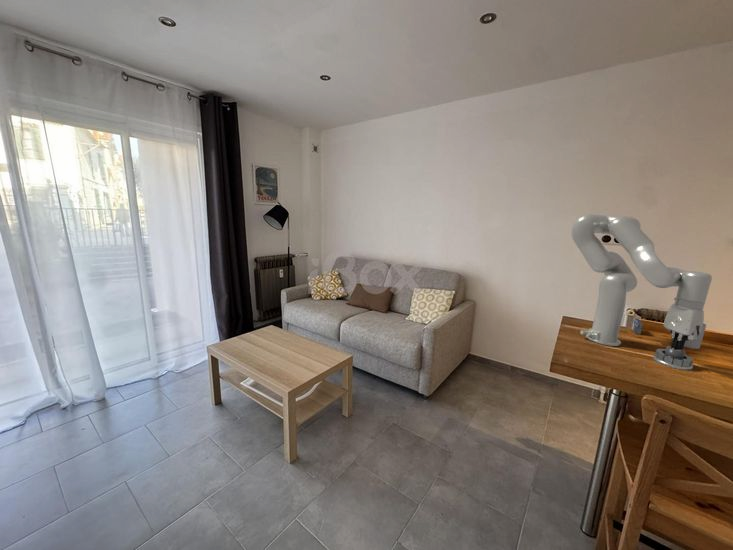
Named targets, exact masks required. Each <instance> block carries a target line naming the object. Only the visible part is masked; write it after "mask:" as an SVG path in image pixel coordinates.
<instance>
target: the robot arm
mask: <svg viewBox="0 0 733 550" xmlns="http://www.w3.org/2000/svg"><path fill="white" fill-rule="evenodd" d="M595 234H603V235H611V236H613V237H614V238H615V240H616V241H617V242H618V243H619V244H620V245H621V247H622V248H623V249H624V250H625V251H626V253H627V254H628V255H629V256H630V259H631V261H632V262H633V264H634V265H635V268H636V269H637V271H639V272H640V274H641V275H642V276H643V277H644V278H645V280H646V281H647V282H648V283H649V284H650V285H652V286H654V287H656V288H659V289H666V288H667V289H668V288H670V287H678V288H677V292H676V297H674V299H673V300H674V303H672V304H671V305H670V307H669V308H668V311H667V313H666V316H665V319H664V322H663V327H664V328H665V329H666V330H667V331H668V332H670V334H671V338H672V340H671V343H670V346H671V348H673V349H674V350H684V348H685V347H684V344H685V341H688V340H689V339H690V340H697V336H699V335H700V333H701V330H702V326H703V323H704V318H705V311H704V307H705V303H706V300H707V297H708V294H709V290H710V287H711V283H712V279H713V276H712V275H711V274H710V273H707V272H703V271H697V270H684V269H680V268H676V267H667V266H666V265H665V263H664V262H663V261H662V260H661V259H660V257H658V254H657V253H656V251H655V244H654V242H653V241H652V239H651V238H649V236H648V235H647V234H646V233H645V232H644V231H643V230H642V229H641V222H640V221H639V219H637V218H636V217H634V216H613V215H604V214H594V213H593V214H592V213H590V214H585V215H582V216H580V217H578V218H577V219H576V221H575V222H574V223H573V224H572V228H571V238H572V240H573V242H574V243H575V246H576V247H577V249H579V251H580V253H581V254H582V256H583V258H584V259H585V261H586V262H587V263H588V265H589V267H590V269H591V270H592V271H593V272H596V273H599V274H601V273H603V274H604V275H605V276H604V277H602V278H601V280H600V281H599V284H598V285H599V287H598V297H597V302H596V309H595V312H594V317H593V322H592V327H590V328H589V329H587V330H584V329H581V330H580V331H579V332H580V333H579V334H581V335H585V337H586V338H587V339H588V340H589V341H591V342H593V343H597V344H600V345H603V346H607V347H608V346H609V347H619V346H621V344H622V341H621V340H619V339H618V337H619V333H620V329H621V325H622V320H623V317H624V313H625V312H624V311H625V307H626V302H627V293H629V292H632V291H633V290H635V289H636V287H637V285H638V278H637V277H636V275H635V273H634V272H633V271H632V269H631V268H630V266H629V265H628V264H627V263H626V261H625V259H624V258H623V257H622V256H621V255H620V254H618V253H617V252H616V251H615V252H614V251H608V249H606V247H605V246H604V245H603V243H602V241H601V240H600V239H599V238H598V237H597V236H596V235H595ZM684 335H685V336H684Z"/></svg>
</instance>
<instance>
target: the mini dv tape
mask: <svg viewBox="0 0 733 550" xmlns="http://www.w3.org/2000/svg"><path fill="white" fill-rule="evenodd" d="M643 325H644V323H643V322H642V321H641V320H640V319H639V318H633V319H632V324H631V327H630V330H631V331H632V332H633V333H634V334H635V335H639V336H641V333H642V329H643Z"/></svg>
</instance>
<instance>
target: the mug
mask: <svg viewBox="0 0 733 550" xmlns="http://www.w3.org/2000/svg"><path fill="white" fill-rule="evenodd" d="M706 328H707V324H705V323H704V322H703V326H702V330H701V333H700V335H699V336H697V340H690V339H689V340H688V341H685V344H684V347H683V348H687V349H691V350H692V349H693V350H699V349H701V345H702V342H703V339H704V336H705V331H706ZM684 336H685V335H684Z"/></svg>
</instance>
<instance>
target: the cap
mask: <svg viewBox="0 0 733 550" xmlns="http://www.w3.org/2000/svg"><path fill="white" fill-rule="evenodd" d="M665 349H666V351H665V354H666V355H668V356H671V357H674V358H679V359H684V355H686V350H685V349H683V350H674V349H673V348H671V345H667V346H666V348H665Z"/></svg>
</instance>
